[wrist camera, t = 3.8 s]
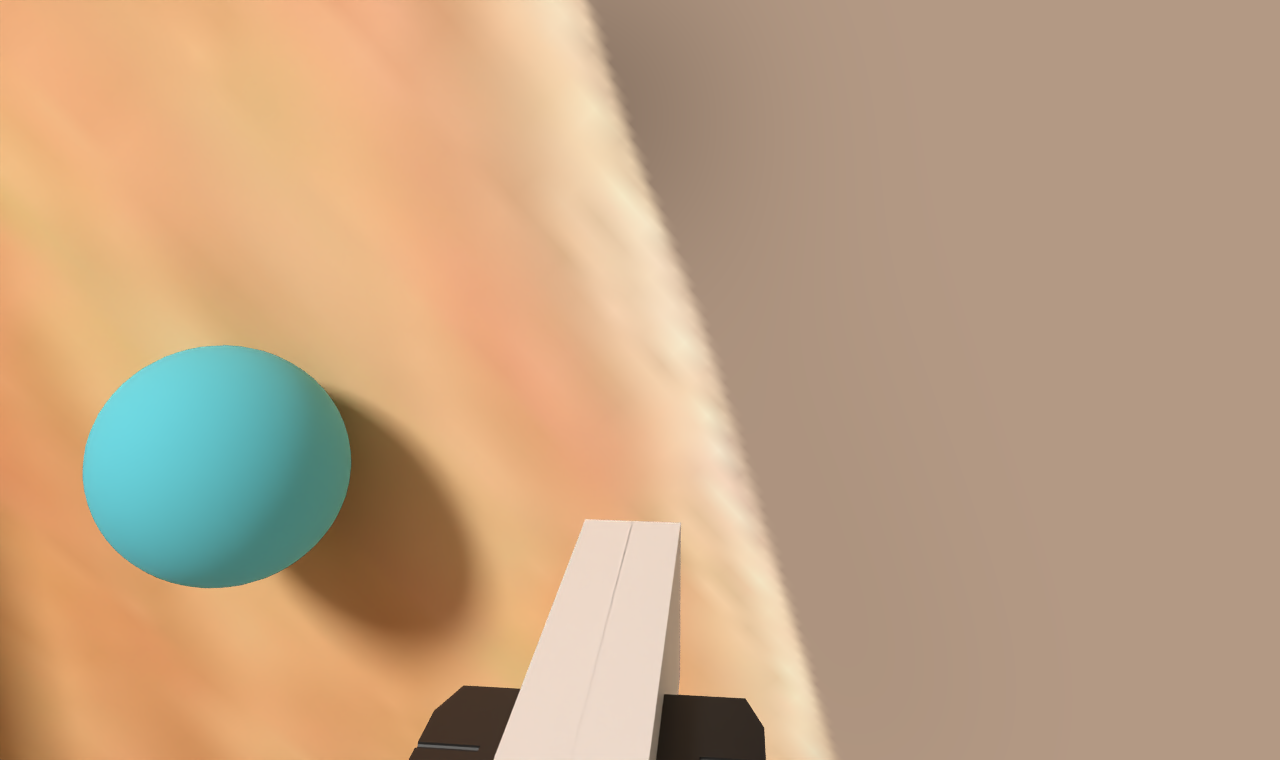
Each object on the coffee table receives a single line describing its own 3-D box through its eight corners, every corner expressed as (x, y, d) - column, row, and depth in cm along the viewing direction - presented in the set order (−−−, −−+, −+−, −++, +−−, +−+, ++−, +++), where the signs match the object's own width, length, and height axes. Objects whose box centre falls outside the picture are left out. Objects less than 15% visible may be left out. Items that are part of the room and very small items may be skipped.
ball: (394, 526, 23) (298, 642, 18) (197, 521, 23) (46, 632, 18) (376, 324, 22) (264, 384, 16) (165, 322, 22) (-8, 380, 17)
